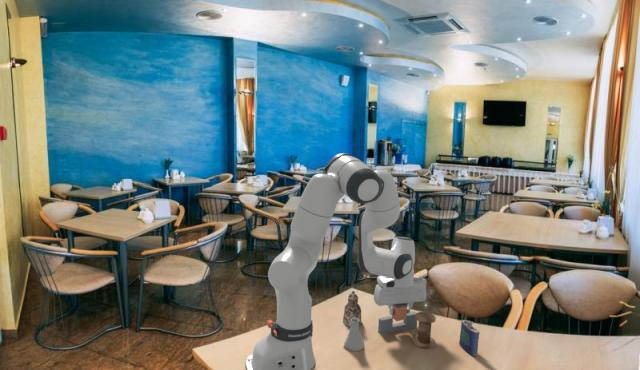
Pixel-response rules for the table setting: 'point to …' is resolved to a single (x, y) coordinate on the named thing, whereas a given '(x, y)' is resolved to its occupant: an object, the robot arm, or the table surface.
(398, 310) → the block
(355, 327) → the flask
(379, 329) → the bracket
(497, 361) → the table surface
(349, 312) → the figurine
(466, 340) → the flask
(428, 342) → the brown spool-shaped piece
